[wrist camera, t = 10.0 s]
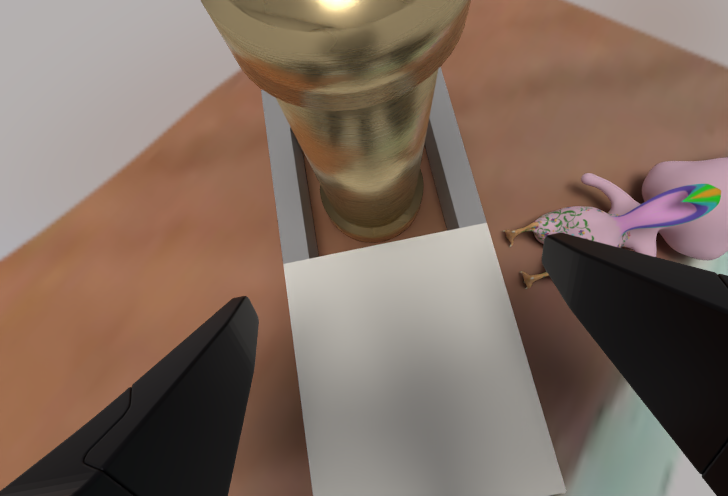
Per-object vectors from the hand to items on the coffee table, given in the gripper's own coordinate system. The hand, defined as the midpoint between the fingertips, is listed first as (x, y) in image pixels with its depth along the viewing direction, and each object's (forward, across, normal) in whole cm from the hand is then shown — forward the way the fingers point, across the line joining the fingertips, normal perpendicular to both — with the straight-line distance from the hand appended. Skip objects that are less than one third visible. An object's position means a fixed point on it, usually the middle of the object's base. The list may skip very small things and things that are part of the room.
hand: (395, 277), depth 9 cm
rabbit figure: (+7, -14, +5) cm, 16 cm away
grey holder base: (+6, 0, +5) cm, 8 cm away
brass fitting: (+10, 0, +1) cm, 10 cm away
